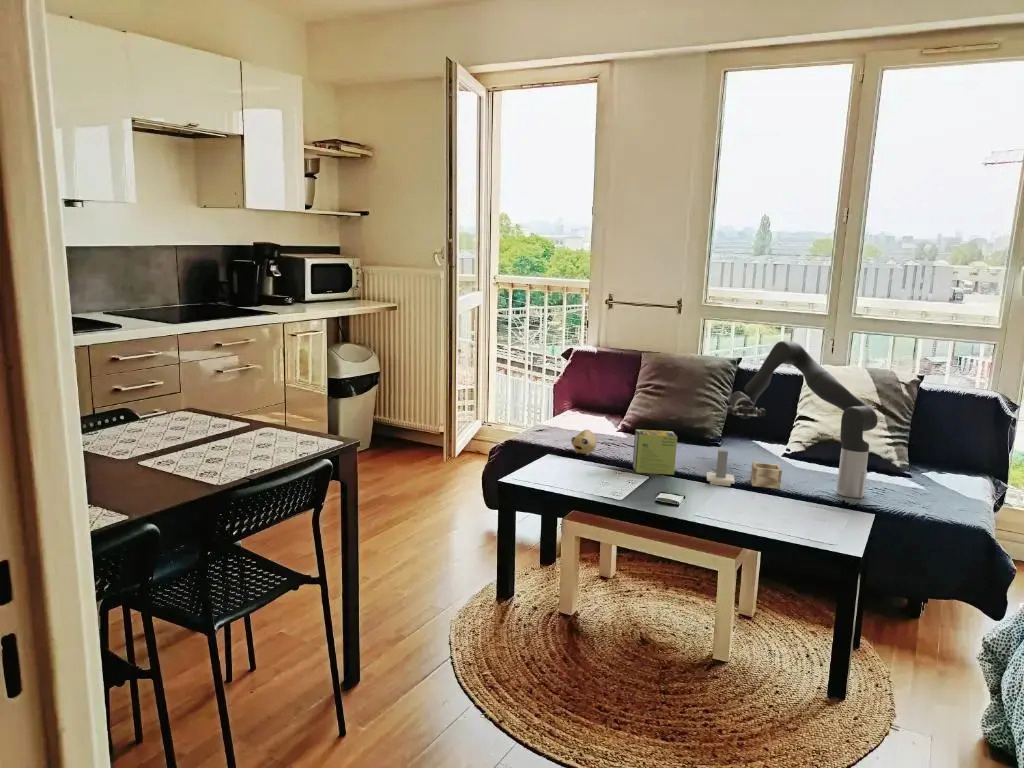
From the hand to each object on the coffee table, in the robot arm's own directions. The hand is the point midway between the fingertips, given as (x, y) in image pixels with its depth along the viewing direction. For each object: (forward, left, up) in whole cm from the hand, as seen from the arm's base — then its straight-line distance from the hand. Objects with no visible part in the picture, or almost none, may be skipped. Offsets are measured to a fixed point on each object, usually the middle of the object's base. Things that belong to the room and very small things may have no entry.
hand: (747, 413), depth 300 cm
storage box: (-10, +4, -26) cm, 28 cm away
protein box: (+31, +16, -26) cm, 43 cm away
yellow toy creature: (+65, +11, -26) cm, 71 cm away
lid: (+4, +15, -26) cm, 30 cm away
